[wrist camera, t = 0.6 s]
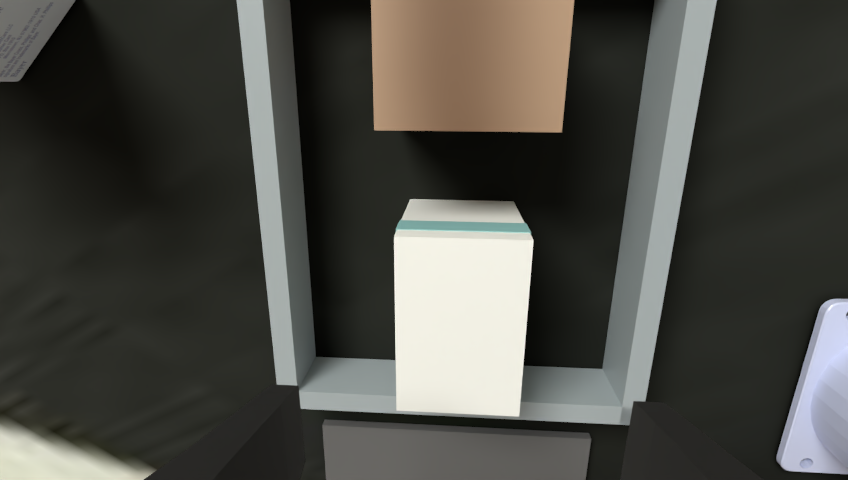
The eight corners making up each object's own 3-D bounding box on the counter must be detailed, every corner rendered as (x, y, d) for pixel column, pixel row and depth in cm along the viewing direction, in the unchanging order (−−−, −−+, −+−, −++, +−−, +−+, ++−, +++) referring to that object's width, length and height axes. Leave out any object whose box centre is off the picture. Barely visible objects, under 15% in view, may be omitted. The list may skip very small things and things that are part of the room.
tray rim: (690, -72, 15) (735, -103, 12) (619, 386, 20) (640, 425, 18) (261, -65, 16) (227, -93, 13) (299, 371, 21) (279, 407, 19)
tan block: (541, 0, 16) (578, -40, 11) (532, 121, 17) (561, 132, 12) (395, 0, 16) (370, -37, 11) (396, 119, 17) (374, 130, 13)
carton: (514, 200, 18) (534, 239, 13) (505, 339, 20) (519, 417, 15) (409, 197, 18) (392, 235, 14) (410, 335, 20) (395, 411, 15)
